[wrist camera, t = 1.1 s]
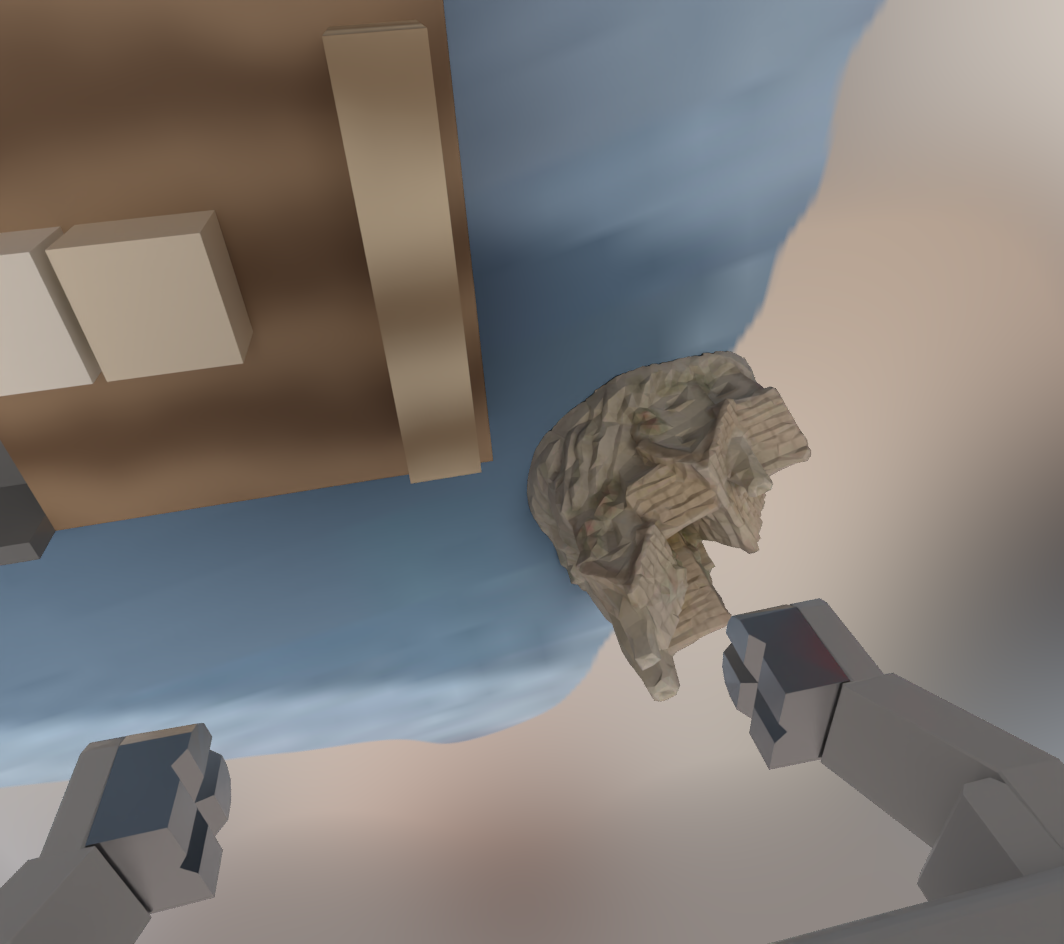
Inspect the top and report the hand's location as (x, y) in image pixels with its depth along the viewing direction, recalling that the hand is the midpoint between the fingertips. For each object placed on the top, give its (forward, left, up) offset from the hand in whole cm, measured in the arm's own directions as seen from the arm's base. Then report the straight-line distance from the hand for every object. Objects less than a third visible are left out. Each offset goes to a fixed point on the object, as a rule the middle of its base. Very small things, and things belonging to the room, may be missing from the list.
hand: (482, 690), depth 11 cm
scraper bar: (0, 0, -22) cm, 22 cm away
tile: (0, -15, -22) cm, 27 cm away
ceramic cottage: (+17, +13, -27) cm, 34 cm away
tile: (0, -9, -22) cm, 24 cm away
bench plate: (0, -8, -26) cm, 27 cm away
